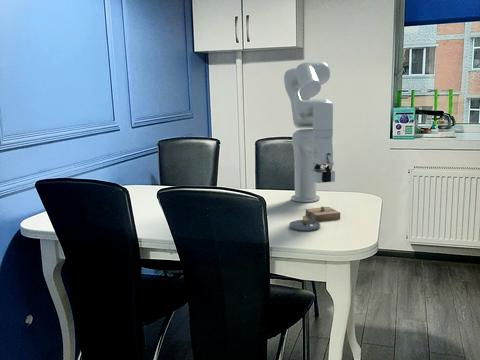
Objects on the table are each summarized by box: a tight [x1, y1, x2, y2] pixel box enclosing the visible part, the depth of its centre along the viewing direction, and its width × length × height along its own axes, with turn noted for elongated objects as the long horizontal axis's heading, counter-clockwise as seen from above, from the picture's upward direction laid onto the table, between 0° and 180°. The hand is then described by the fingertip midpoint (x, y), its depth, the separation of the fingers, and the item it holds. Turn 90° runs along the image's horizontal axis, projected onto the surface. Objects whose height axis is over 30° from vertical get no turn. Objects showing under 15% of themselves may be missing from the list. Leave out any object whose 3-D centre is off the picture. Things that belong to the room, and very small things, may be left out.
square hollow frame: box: [310, 167, 336, 184], centre depth 185 cm, size 7×7×4 cm
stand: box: [305, 206, 341, 222], centre depth 187 cm, size 10×10×4 cm
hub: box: [289, 215, 321, 232], centre depth 175 cm, size 11×11×4 cm
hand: (322, 179), depth 186 cm, fingers closed on square hollow frame, 7 cm apart
